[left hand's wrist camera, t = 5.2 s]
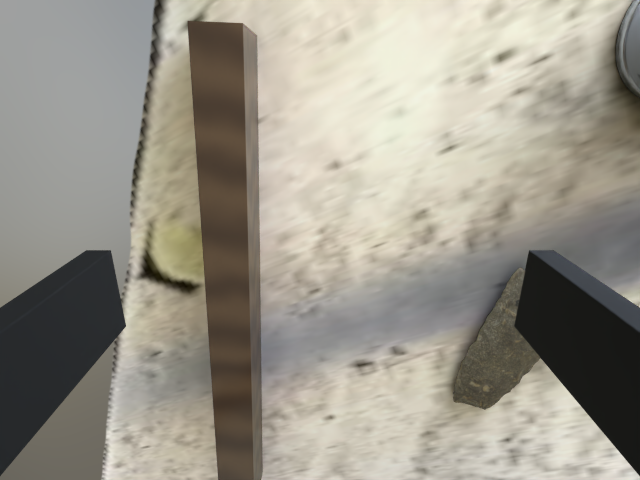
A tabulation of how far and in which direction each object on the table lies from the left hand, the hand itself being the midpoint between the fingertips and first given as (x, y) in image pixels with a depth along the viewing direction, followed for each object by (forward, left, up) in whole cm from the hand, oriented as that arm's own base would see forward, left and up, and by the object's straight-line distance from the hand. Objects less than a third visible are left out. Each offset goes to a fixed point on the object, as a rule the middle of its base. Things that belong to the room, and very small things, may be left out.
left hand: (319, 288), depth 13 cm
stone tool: (+35, +23, -41) cm, 59 cm away
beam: (+21, -16, -41) cm, 49 cm away
